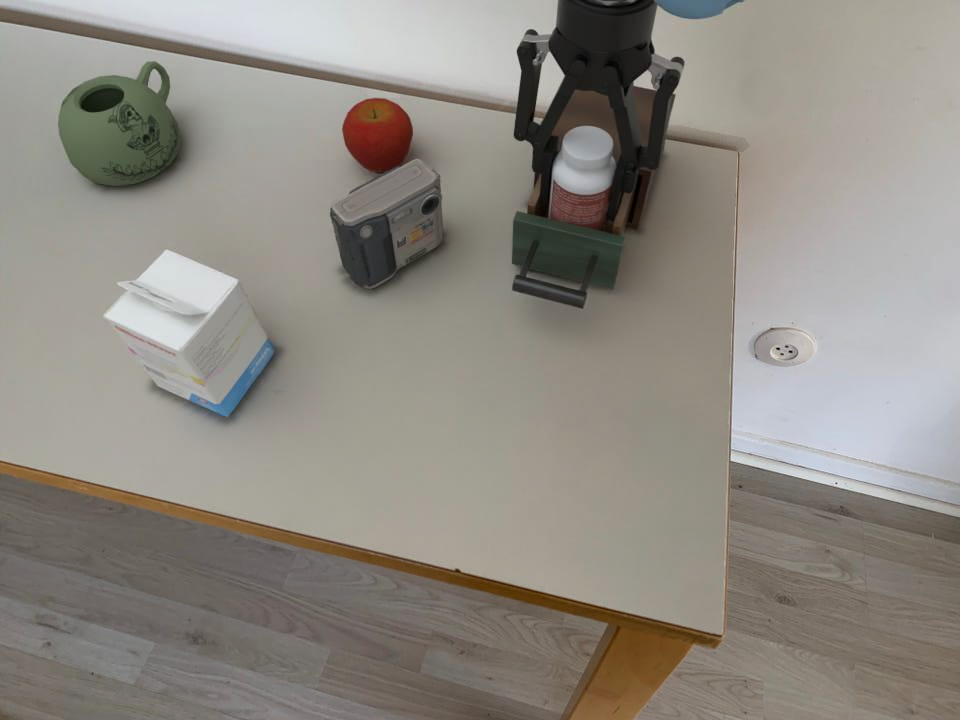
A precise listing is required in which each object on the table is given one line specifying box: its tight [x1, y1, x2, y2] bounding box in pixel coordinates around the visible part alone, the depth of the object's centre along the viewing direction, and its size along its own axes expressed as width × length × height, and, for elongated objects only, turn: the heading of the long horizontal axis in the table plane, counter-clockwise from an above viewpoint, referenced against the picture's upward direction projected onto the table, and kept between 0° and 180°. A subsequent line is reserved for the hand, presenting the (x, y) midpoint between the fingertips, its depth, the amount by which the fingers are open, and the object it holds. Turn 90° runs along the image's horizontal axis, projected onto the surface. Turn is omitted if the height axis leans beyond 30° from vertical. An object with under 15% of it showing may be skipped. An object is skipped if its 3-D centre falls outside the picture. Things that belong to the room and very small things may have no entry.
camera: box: [329, 158, 444, 290], centre depth 75 cm, size 11×6×10 cm, turn 126°
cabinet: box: [533, 85, 677, 231], centre depth 81 cm, size 13×12×9 cm
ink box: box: [102, 249, 276, 418], centre depth 66 cm, size 9×8×13 cm
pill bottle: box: [548, 126, 616, 232], centre depth 72 cm, size 6×6×11 cm
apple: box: [341, 97, 414, 173], centre depth 84 cm, size 8×8×8 cm
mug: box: [57, 60, 182, 187], centre depth 85 cm, size 16×13×9 cm
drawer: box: [511, 174, 639, 309], centre depth 74 cm, size 18×11×7 cm, turn 161°
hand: (579, 202), depth 73 cm, fingers closed on pill bottle, 6 cm apart
